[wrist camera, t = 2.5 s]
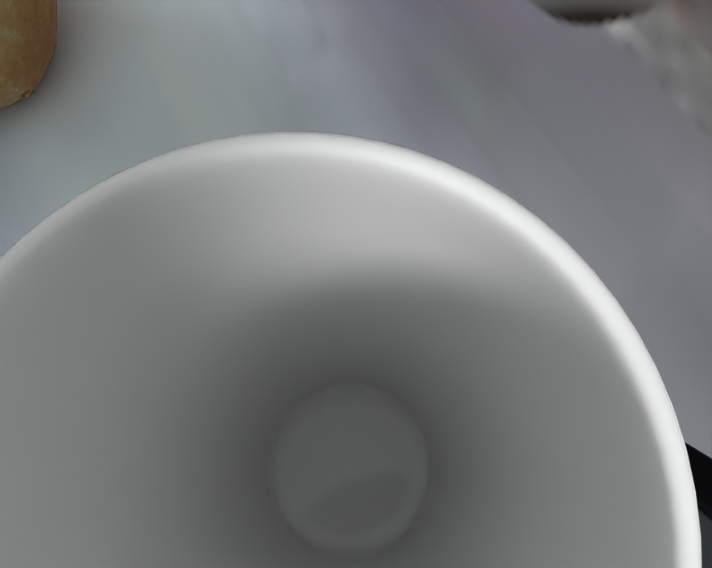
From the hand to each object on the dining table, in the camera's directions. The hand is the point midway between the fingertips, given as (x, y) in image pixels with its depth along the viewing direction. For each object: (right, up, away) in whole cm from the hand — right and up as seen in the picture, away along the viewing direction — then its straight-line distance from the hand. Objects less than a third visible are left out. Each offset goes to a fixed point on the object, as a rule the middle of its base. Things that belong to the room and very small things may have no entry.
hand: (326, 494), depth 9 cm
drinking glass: (0, -3, +10) cm, 11 cm away
